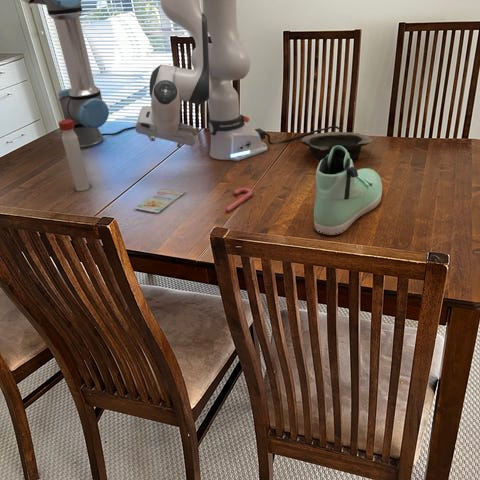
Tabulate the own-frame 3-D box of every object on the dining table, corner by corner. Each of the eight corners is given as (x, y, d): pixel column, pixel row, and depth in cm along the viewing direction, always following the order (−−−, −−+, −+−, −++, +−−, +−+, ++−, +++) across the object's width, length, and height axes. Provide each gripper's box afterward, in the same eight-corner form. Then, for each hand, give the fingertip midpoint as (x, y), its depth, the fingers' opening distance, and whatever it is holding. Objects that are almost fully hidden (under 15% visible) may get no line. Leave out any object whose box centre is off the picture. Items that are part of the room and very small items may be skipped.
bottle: (85, 191, 162) (68, 125, 150) (73, 190, 163) (55, 125, 151) (92, 185, 166) (76, 120, 154) (80, 184, 167) (63, 120, 155)
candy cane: (212, 209, 144) (212, 204, 144) (241, 189, 154) (240, 185, 154) (228, 213, 141) (228, 209, 140) (256, 193, 151) (256, 189, 151)
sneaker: (389, 187, 148) (396, 123, 138) (356, 242, 123) (361, 168, 112) (346, 181, 154) (350, 119, 144) (306, 232, 129) (307, 161, 118)
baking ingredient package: (134, 207, 147) (161, 188, 159) (134, 208, 148) (161, 189, 159) (157, 212, 144) (184, 192, 155) (158, 213, 144) (184, 193, 155)
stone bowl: (329, 177, 157) (328, 150, 153) (288, 159, 177) (286, 135, 173) (387, 158, 166) (388, 132, 161) (342, 144, 186) (341, 120, 182)
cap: (69, 130, 151) (67, 124, 150) (57, 130, 152) (55, 123, 151) (76, 126, 155) (75, 119, 154) (64, 126, 156) (63, 119, 155)
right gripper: (199, 120, 155) (197, 141, 168) (137, 104, 154) (140, 128, 167) (195, 136, 153) (193, 157, 166) (132, 121, 152) (135, 143, 165)
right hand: (166, 142), depth 166 cm, fingers open, 8 cm apart
